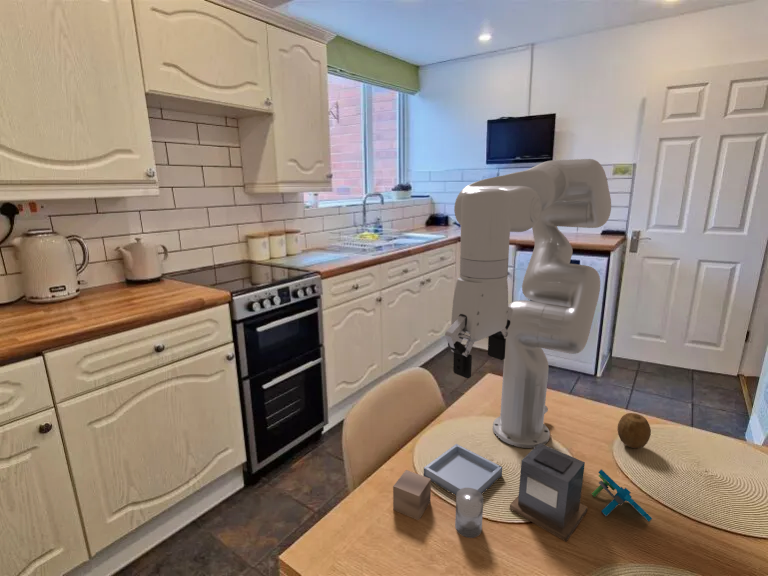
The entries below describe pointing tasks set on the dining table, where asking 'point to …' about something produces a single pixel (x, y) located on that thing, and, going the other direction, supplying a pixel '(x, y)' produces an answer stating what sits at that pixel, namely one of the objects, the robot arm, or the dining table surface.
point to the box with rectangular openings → (551, 491)
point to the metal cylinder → (469, 512)
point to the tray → (462, 470)
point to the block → (411, 494)
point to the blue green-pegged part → (617, 495)
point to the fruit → (634, 430)
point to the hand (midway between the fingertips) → (479, 366)
